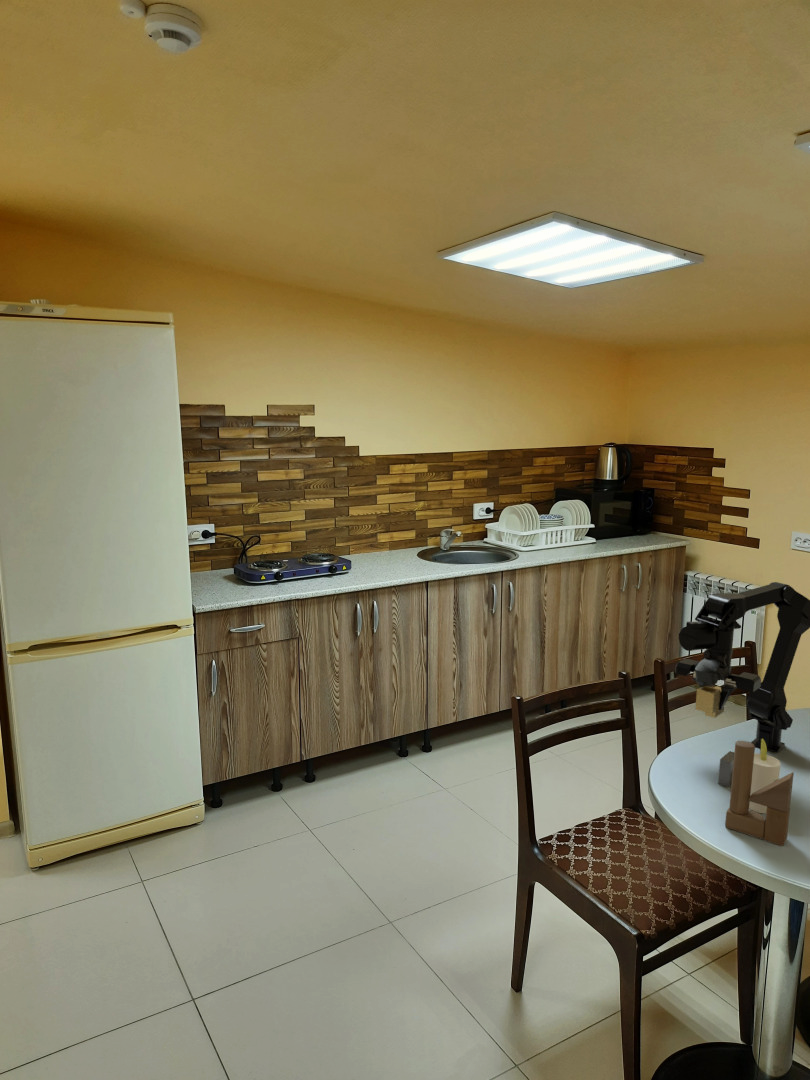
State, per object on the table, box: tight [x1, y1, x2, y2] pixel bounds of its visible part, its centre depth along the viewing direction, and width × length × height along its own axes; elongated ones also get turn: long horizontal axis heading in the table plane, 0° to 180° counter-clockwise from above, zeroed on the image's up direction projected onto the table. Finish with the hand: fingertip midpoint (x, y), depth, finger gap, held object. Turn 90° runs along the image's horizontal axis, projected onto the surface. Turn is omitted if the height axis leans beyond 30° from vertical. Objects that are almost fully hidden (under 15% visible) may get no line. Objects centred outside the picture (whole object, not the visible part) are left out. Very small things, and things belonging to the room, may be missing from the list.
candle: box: [749, 739, 782, 815], centre depth 153 cm, size 6×6×15 cm
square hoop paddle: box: [695, 685, 725, 719], centre depth 174 cm, size 10×4×8 cm, turn 136°
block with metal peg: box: [717, 741, 737, 788], centre depth 166 cm, size 10×4×8 cm, turn 136°
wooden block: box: [724, 740, 794, 847], centre depth 142 cm, size 4×11×18 cm, turn 52°
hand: (714, 708), depth 176 cm, fingers closed on square hoop paddle, 3 cm apart
